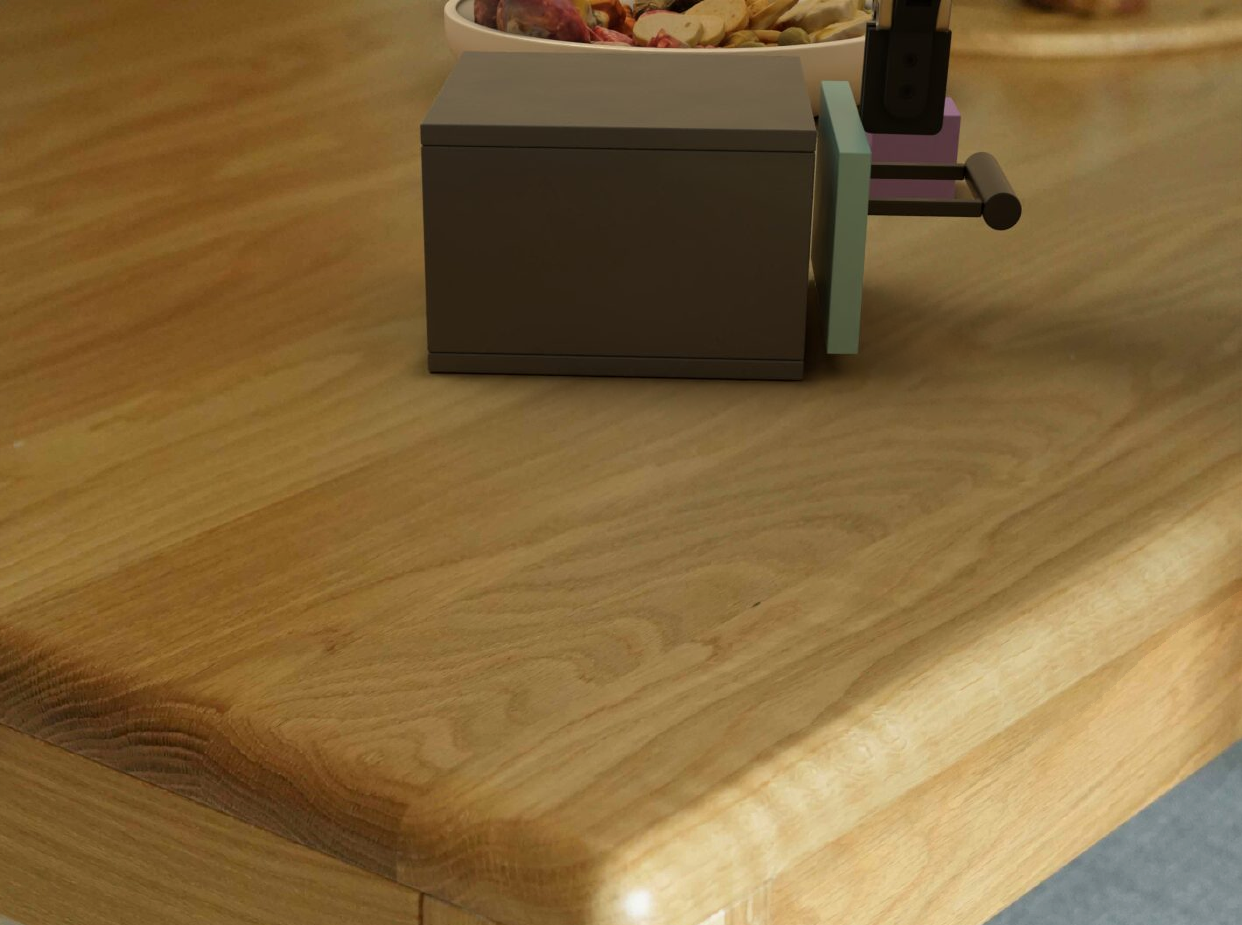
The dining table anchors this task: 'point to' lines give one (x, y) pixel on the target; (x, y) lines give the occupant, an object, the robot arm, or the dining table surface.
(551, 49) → the bowl
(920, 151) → the block
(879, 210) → the drawer
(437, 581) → the dining table surface
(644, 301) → the cabinet
